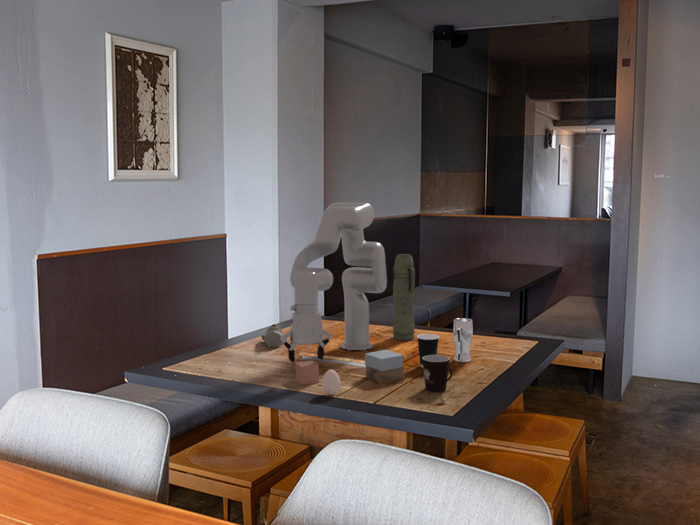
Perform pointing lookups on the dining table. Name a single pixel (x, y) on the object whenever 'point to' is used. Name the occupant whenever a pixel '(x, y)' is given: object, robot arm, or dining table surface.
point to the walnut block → (385, 374)
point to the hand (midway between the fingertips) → (306, 360)
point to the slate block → (383, 360)
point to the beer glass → (462, 339)
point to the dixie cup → (427, 345)
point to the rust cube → (307, 372)
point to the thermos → (403, 297)
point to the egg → (331, 382)
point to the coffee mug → (436, 372)
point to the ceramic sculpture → (273, 336)
